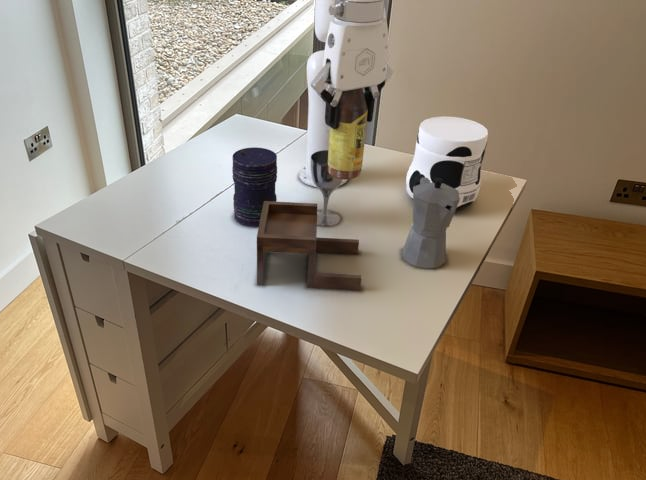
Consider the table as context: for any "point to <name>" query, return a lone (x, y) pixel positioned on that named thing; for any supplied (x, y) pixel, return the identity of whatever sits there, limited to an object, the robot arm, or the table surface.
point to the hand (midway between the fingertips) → (348, 122)
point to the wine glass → (324, 186)
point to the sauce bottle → (348, 136)
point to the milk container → (450, 155)
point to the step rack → (301, 243)
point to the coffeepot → (430, 222)
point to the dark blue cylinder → (253, 183)
